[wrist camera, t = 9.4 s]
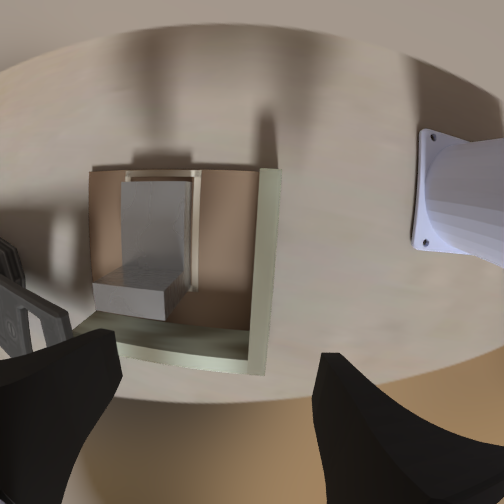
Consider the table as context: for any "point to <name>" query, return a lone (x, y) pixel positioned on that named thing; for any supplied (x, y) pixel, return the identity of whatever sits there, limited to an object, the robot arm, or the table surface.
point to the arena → (199, 270)
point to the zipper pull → (25, 309)
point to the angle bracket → (150, 251)
